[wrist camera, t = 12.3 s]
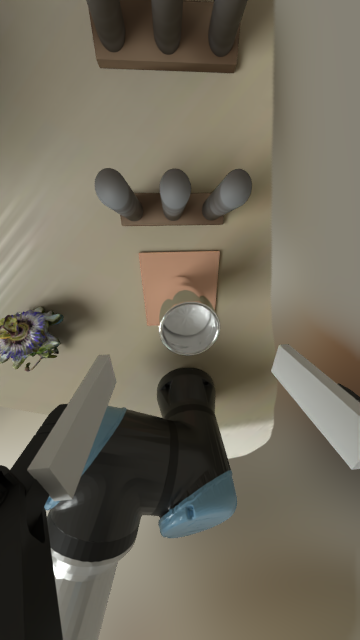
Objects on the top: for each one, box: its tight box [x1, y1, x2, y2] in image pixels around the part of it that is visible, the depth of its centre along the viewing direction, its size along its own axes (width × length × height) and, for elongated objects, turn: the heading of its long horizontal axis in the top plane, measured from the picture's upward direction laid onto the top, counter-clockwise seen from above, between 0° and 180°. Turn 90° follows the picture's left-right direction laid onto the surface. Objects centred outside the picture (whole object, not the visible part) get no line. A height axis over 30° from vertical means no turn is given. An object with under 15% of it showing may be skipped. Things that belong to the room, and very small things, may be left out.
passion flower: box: [0, 307, 64, 371], centre depth 29 cm, size 11×11×12 cm
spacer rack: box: [86, 0, 252, 226], centre depth 17 cm, size 20×16×11 cm
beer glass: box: [159, 276, 220, 356], centre depth 24 cm, size 7×7×15 cm
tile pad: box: [139, 251, 220, 326], centre depth 30 cm, size 14×14×1 cm
